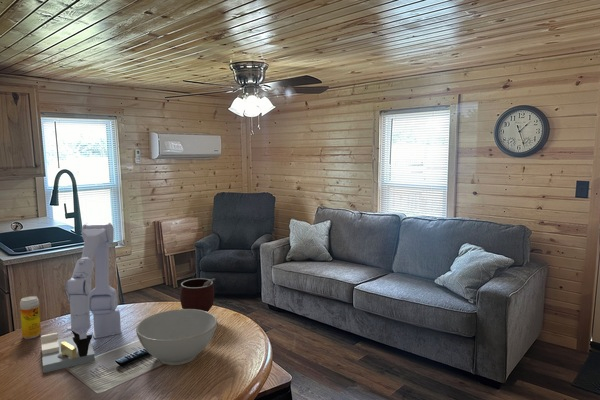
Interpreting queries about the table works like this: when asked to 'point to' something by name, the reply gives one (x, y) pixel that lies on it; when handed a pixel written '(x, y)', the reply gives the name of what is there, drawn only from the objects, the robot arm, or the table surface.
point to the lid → (49, 343)
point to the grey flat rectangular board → (65, 357)
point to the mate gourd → (197, 294)
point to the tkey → (68, 350)
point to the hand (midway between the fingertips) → (82, 351)
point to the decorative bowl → (176, 334)
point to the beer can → (30, 317)
